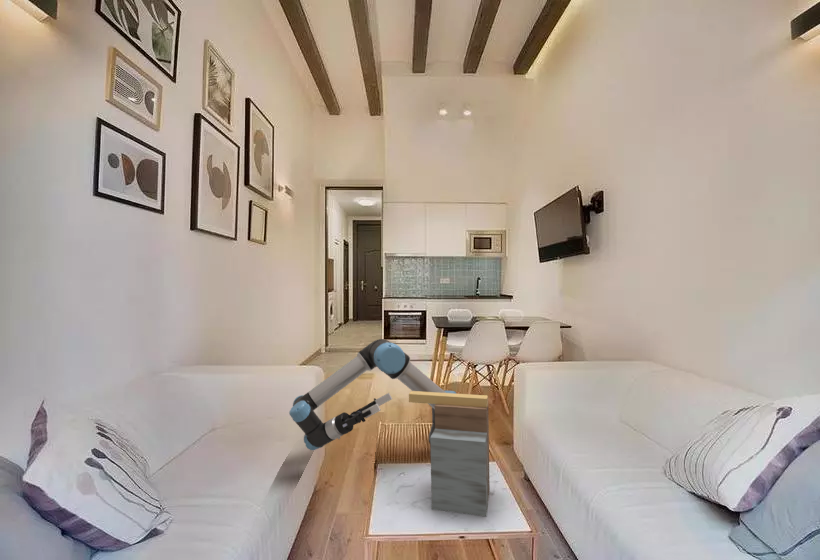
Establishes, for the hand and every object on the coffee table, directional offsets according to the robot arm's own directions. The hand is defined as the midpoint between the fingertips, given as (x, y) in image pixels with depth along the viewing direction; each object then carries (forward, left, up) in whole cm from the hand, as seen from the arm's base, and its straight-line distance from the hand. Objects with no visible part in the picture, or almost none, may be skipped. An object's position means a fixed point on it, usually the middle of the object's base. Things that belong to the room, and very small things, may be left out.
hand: (384, 401), depth 150 cm
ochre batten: (+8, +22, +1) cm, 24 cm away
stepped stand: (+13, +26, -31) cm, 43 cm away
